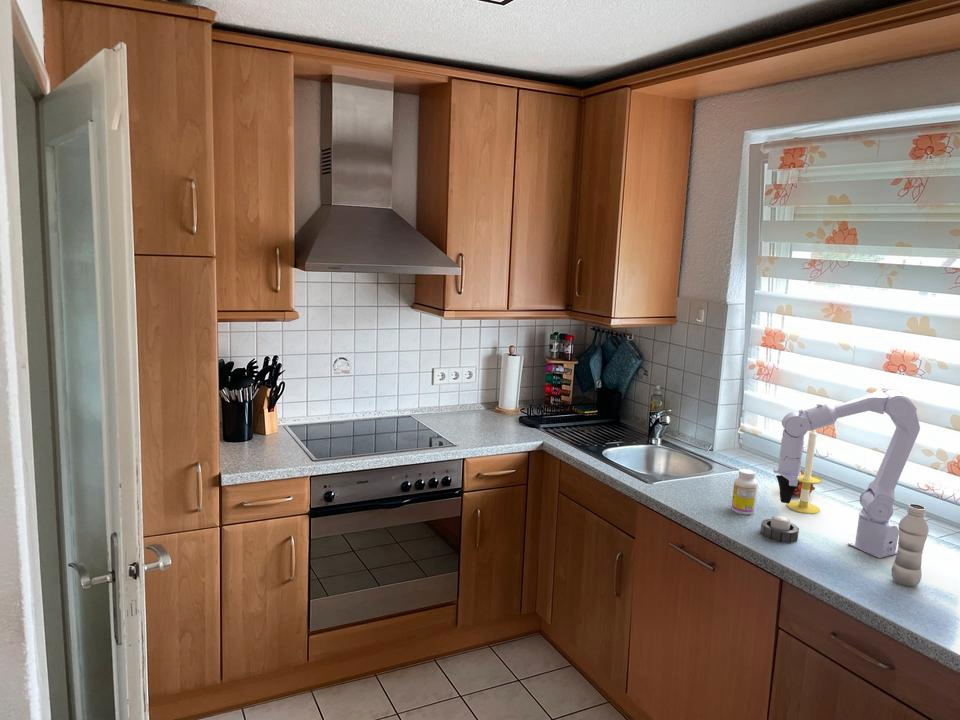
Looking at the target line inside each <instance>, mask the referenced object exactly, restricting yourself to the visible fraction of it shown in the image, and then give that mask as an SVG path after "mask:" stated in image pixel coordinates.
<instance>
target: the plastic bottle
mask: <svg viewBox="0 0 960 720" xmlns="http://www.w3.org/2000/svg"><path fill="white" fill-rule="evenodd" d="M906 513H907V514H906V515H905V516H903V518H901V519H900V521H899V523H898V531H899V534H898V540H897V549H896V551H897V554H895V557H894V558H895V559H894V562H893V564H892V566H891V578H892V579H893V580H894V582H896V583H897V584H900V585H903V586H904V587H905V586H906V587H916V586H918V585H919V584H920V583H921V580H922V562H923V561H922V558H923V551H924V547H925V543H926V541H927V538H928V534H929V532H930V529H929V525H928V522H927V521H926V520H925V517H926V507H925V506H922V505H921V504H917V503H910V504H908V507H907V510H906Z"/></svg>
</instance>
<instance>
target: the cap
mask: <svg viewBox="0 0 960 720" xmlns="http://www.w3.org/2000/svg"><path fill="white" fill-rule="evenodd" d="M770 519H771V525H770V527H772V528H774V529H777V530H781V531H789V529H790V523H791V519H790V518H788V517H785V516H782V515H772V516H771V517H770Z"/></svg>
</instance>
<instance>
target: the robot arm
mask: <svg viewBox="0 0 960 720" xmlns="http://www.w3.org/2000/svg"><path fill="white" fill-rule="evenodd" d="M865 412H873V413H876V414H881V415H884V413H886V414H887V415H888V416H889V417H890V419H891V421H892V423H893V424H894V425H895V430H894V433H893V435H892V436H891V439H890V441H889V445H888V447H887V449H886V451H885V453H884V456H883V459H882V461H881V463H880V466H879V468H878V471H877V473H876V475H875V477H874V479H873V480H872V481H871V482H870V483H869V484H868V487H867V488H866V489H865V490H864V491H862V493H861V494H860V495H859V503H860V505H861V507H862V508H861V510H860V511H859V513H858V522H857V528H856V534H855V540H853V541H849V542H847V545H848V546H851V547H854V548H855V549H858V550H860V551H862V552H865V553H867V554H869V555H871V556H873V557H875V558H878V559H881V558H884V557H889V556H892V555H896V554H897V547H898V541H899V527H898V526H896V525H895V524H893V523H892V522H891V521H890V519H891V518H892V516H893V513H894V508H893V507H894V506H893V505H894V502H895V500H896V499H895V498H896V497H895V496H896V495H895V489H896V488H897V484H898V482H899V480H900V478H901V474H902V472H903V470H904V468H905V466H906V464H907V461H908V458H909V457H910V453H911V452H912V450H913V447H914V444H915V443H916V440H917V437H918V435H919V433H920V430H921V427H920V422H919V418H918V414H917V406H916V405H915V404H914V403H913V401H912V400H911V399H910V398H909V397H907V396H906V395H903V394H902V393H901V392H900V391H899V390H897V389H894V388H888V389H885V390H883V391H881V390H880V391H874V392H873V393H870V394H866V395H864V396H861V397H858V398H854V399H851V400H849V401H846V402H843V403H840V404H838V405H834V406H831V405H830V404H826V403H825V404H822V403H821V402H820V403H817V404H816V406H815V407H811V408H808V409H805V410H803V409H799V410H798V412H793V411H792V412H789V413H787V414H786V415H784V416H783V418H782V420H781V425H782V428H783V431H782V435H781V436H782V437H781V440H780V441H781V442H780V448H779V456H778V457H779V458H778V465H777V466H778V467H777V468H773V469H772V472H773V473H775V474H777V475H775V476H776V480H777V484H778V488H779V498H780V499H779V500H780V502H781V504H787V503H790V501H792V498H793V496H794V495H793V493H794V491H795V489H796V488H797V487H798V486H799V484H800V482H799V481H798V479H799V477H800V475H801V472H800V470H801V467H802V460H803V451H804V446H805V445H804V444H805V441H804V440H805V435H806V434H807V432H811V431H812V430H815V431H816V430H819V429H821V428H825V427H828V426H832V425H834V424H835V423H836V421H837V420H838V419H840V418H844V417H848V416H853V415H856V414H861V413H865Z"/></svg>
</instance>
